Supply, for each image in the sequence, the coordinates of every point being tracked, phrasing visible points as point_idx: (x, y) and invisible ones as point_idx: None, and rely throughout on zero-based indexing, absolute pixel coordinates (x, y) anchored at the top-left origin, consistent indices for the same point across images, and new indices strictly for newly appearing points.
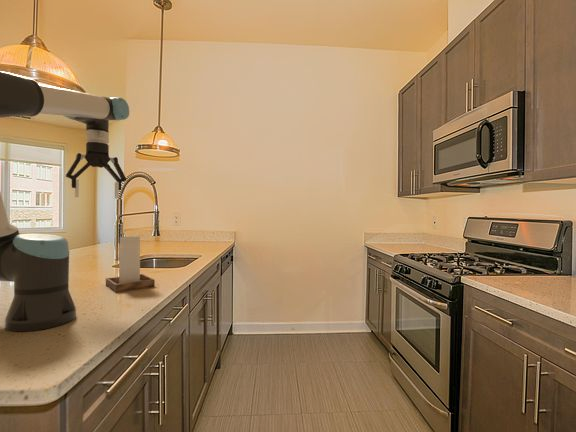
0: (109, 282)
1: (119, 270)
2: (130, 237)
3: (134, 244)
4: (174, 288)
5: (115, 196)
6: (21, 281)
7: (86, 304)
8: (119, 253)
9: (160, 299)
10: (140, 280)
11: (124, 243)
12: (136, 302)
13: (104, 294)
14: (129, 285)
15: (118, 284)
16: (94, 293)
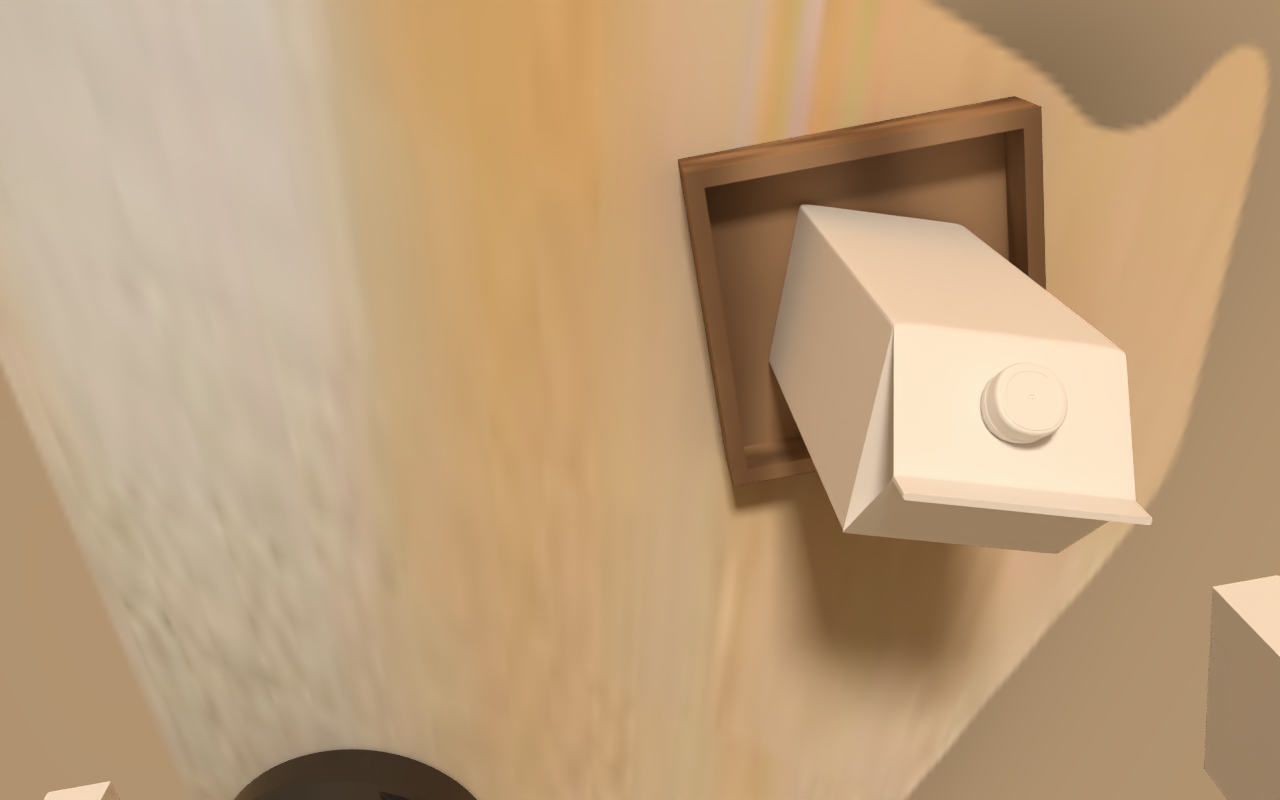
0: (703, 303)
1: (795, 421)
2: (1029, 507)
3: (1024, 532)
4: (1127, 526)
5: (1244, 713)
6: None
7: (539, 669)
8: (831, 501)
9: (943, 742)
10: (984, 164)
11: (921, 513)
12: (806, 744)
13: (649, 479)
14: None
15: (755, 481)
16: (584, 417)
